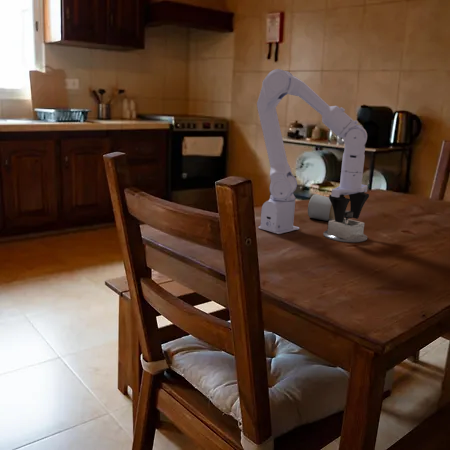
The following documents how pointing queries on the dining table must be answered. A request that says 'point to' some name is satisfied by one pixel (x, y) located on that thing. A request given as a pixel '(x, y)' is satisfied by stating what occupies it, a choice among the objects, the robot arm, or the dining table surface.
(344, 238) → the press
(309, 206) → the ceramic mug
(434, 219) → the dining table surface
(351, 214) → the plunger
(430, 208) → the dining table surface
